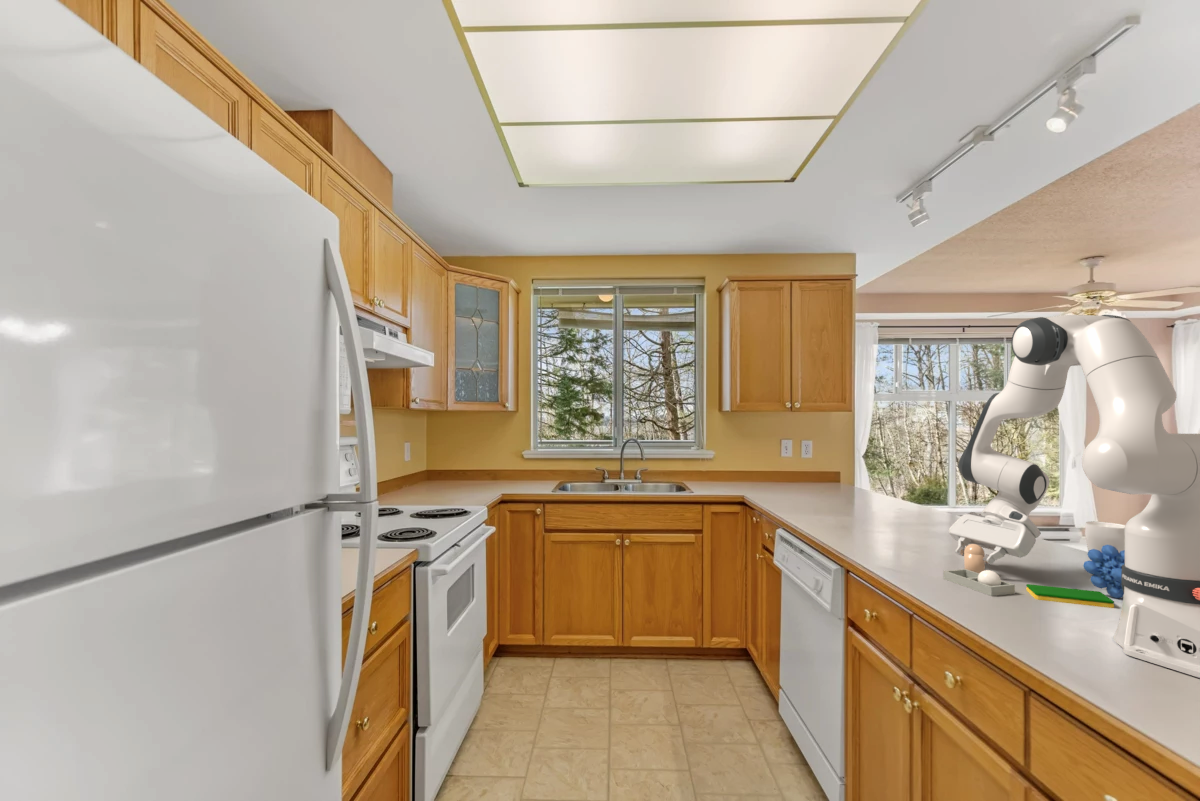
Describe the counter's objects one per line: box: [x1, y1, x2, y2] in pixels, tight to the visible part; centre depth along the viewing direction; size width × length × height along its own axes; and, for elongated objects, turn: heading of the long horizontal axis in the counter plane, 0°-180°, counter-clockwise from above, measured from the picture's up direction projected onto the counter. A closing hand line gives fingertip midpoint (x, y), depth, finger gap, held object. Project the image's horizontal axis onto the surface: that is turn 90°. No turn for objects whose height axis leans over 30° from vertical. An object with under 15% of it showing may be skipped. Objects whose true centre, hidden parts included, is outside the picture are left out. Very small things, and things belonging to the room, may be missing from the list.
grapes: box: [1082, 545, 1125, 599], centre depth 126 cm, size 12×7×12 cm, turn 57°
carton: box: [942, 568, 1016, 597], centre depth 134 cm, size 13×7×2 cm, turn 14°
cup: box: [1084, 520, 1126, 561], centre depth 149 cm, size 9×9×12 cm
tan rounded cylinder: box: [963, 544, 986, 573], centre depth 144 cm, size 4×4×8 cm
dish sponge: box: [1025, 583, 1115, 609], centre depth 125 cm, size 7×14×2 cm, turn 67°
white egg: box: [978, 569, 1002, 586], centre depth 131 cm, size 5×5×5 cm
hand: (972, 558), depth 143 cm, fingers open, 7 cm apart
